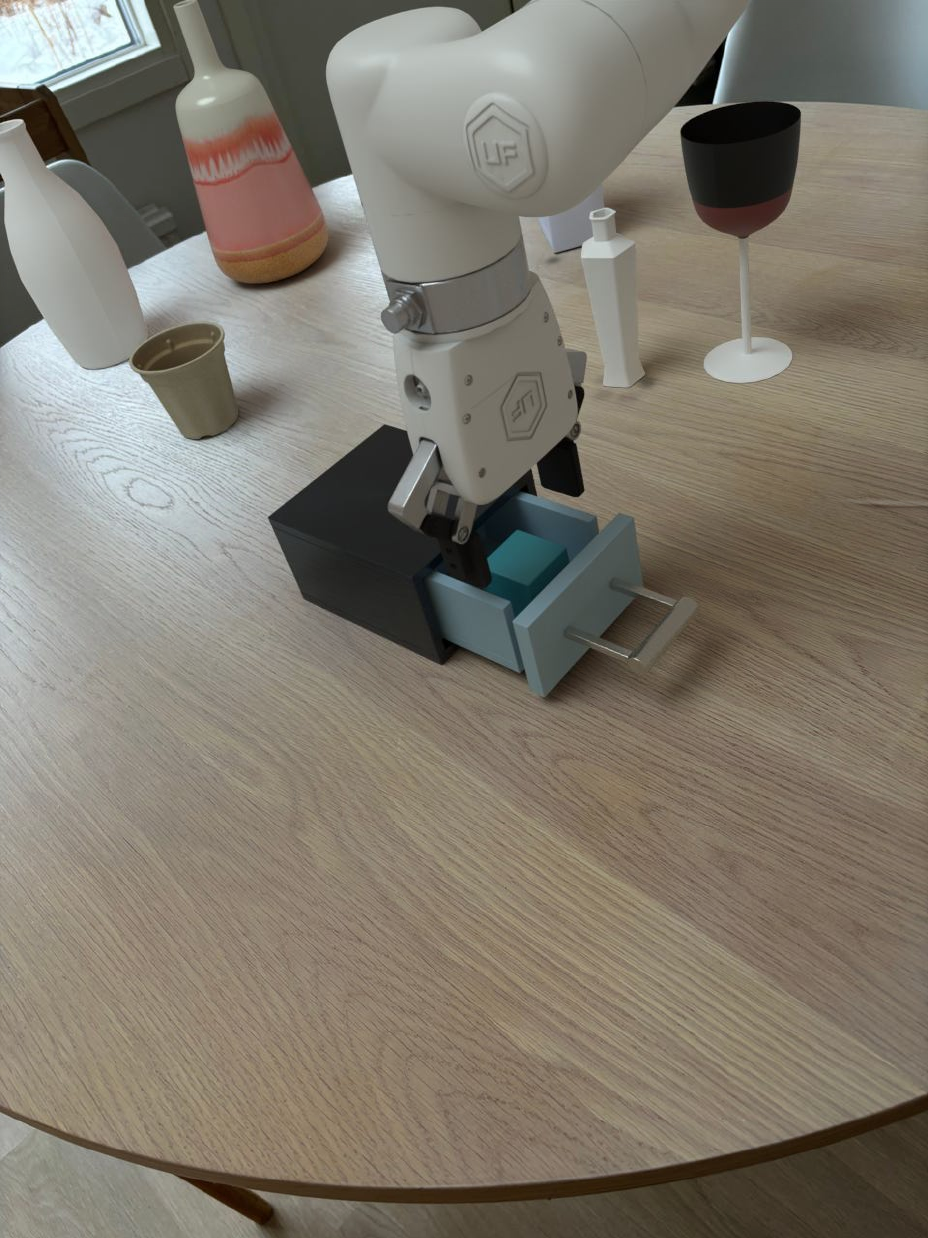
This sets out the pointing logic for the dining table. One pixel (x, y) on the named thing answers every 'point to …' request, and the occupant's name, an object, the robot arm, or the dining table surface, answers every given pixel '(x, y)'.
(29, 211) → the bottle
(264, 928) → the dining table surface
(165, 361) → the flower pot
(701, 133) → the wineglass
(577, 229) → the soap bottle
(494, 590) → the teal block
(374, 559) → the small black cabinet
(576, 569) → the drawer
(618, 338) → the perfume bottle
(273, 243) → the vase
